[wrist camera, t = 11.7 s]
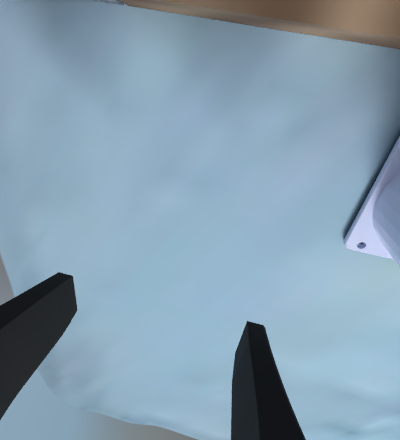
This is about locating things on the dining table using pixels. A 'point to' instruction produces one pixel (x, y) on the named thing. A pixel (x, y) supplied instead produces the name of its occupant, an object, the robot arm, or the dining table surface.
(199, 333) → the dining table surface
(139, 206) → the dining table surface
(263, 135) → the dining table surface
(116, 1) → the box
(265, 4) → the board
